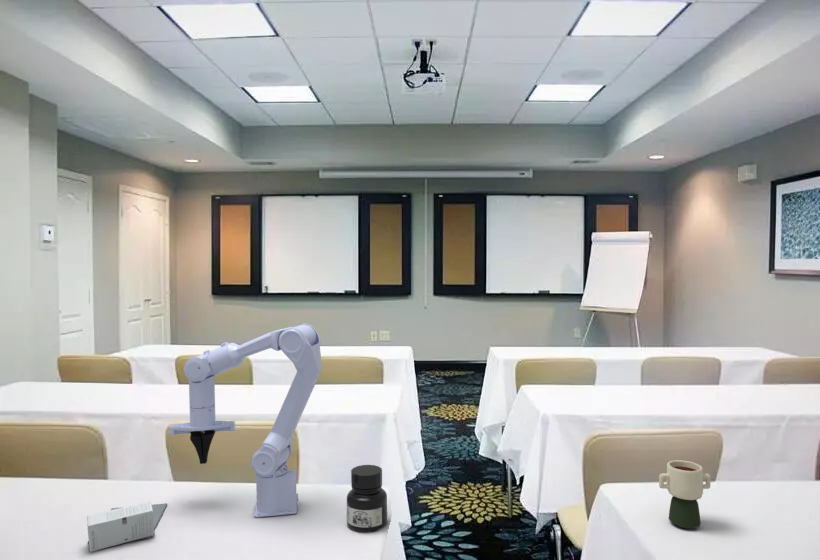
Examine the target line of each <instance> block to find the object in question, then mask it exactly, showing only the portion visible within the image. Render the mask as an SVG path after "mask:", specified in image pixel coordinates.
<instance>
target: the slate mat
mask: <svg viewBox="0 0 820 560" xmlns="http://www.w3.org/2000/svg"><path fill="white" fill-rule="evenodd" d="M151 505H152V509H153V520H154V532H155V531H156V528H157V526H158V524H159V522H160V520H161V518H162V516H164V513H165V511H166V508H167V507H168V503H157V504H156V503H155V504H151ZM118 508H122V506H121V507H112V508H110V510H114V509H118ZM152 536H153V535H152ZM152 536H148V537H144V538H141V539H140V540H142V539H151V538H152ZM87 545H89V540H88V541H87Z"/></svg>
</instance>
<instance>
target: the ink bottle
mask: <svg viewBox="0 0 820 560" xmlns="http://www.w3.org/2000/svg"><path fill="white" fill-rule="evenodd" d="M350 475H351V476H350V479H351V480H350V482H351V485H350V486H351V490H349V491H348V493H347V494H346V525H347V526H348V528H349V529H352V530H353V531H356V532H362V533H363V532H364V533H365V532H367V533H368V532H376V531H379V530H380V529H383V528H384V527H385V526H386V525H387V523H388V494H387V492H386V490H385V489H383V470H382V467H380V466H379V465H375V464H361V465H358V466H357V465H356V466H355V467H353V468H352V469H351V470H350Z"/></svg>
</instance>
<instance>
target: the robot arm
mask: <svg viewBox="0 0 820 560" xmlns="http://www.w3.org/2000/svg"><path fill="white" fill-rule="evenodd" d="M321 343H322V339H321V337H320V335H319V333H318V331H317V329H316V328H315V327H314V326H313V325H311V324H310V323H300V324H298V325H296V326H289V327H284V328H281V329H277V330H272V331H270V332H267V333H265V334H263V335H261V336H259V337H256V338H253V339H251V340H249V341H247V342H244V343H241V344H240V345H239V344H237V343H235V342H230V343H229V342H228V341H225V342H223V343H220V347H217V348H215V349H213V350H210V349H207V350H204V351H203V354H201V355H197V356H192V357H191V358H189V359H188V360H187V361H186V362H185V364H184V366H183V373H184V375H185V376H184V377H186V378H187V380H188V389H189V390H188V394H189V395H188V398H189V422H185V423H178V424H171V425H170V426H169V436H175V435H181V434H182V435H183V434H190V436H189V440H190V442H191V443H192V445H193V446H194V449H195V451H196V453H197V456H198V460H199V465H202V464H203V465H204V464H207V462H208V457H209V452H210V447H211V444H212V443H213V442H212V441H213V438H214V437H215V434H216V432H224V431H225V432H235V431H236V430H235V429H236V421H235V420H216V396H215V395H216V392H215V391H216V390H215V388H216V387H215V383H216V382H215V381H216V379H215V378H216V375H219V374H222V373H225V372H227V371H229V370H232V369H234V368H237V367H239V366H241V365H242V364H243V362H244V361H245V358H248V357H249V356H252V355H255V354H258V353H261V352H263V351H266V350H269V349H273V350H274V351H276V352H279V351H281V352H283V354H284V355H285V357H287V358H288V359H289V360H290V361H291V362H292V364H293V366H294V368H295V369H296V373H295V375H294V378H293V380H292V382H291V384H290V387H289V389H288V391H287V394H286V396H285V398H284V400H283V403H282V404H281V407H280V410H279V412H278V414H277V416H276V419H275V420H274V423H273V426H272V427H271V430H270V431H269V433H268V435H267V437H266V438H265V439H264V441H263V442H262V444H261V447H260V448H259V449H258V450H257V451H255V452H254V453H253V454H252V457H251V461H250V464H251V468H252V470H253V471H254V473H255V480H256V481H255V482H256V483H255V485H256V486H255V487H256V488H255V489H256V502H255V507H254V512H253V513H254V514H253V517H254V518H265V517H275V516H284V515H294V514H295V515H296V514H297V512H298V508H297V506H298V505H297V504H298V503H297V502H299V494H298V492H297V470H296V469H289V468H288V464H287V462H288V461H289V459H290V457H291V456H292V455H291V454H292V443H293V441H294V437H293V435H294V433H295V431H296V429H297V426H298V424H299V422H300V420H301V417H302V414H303V413H304V412H305V411H304V410H305V408H306V406H307V403H308V402H309V399H310V397H311V395H312V393H313V390H314V388H315V385H316V383H317V381H318V379H319V377H320V375H321V372H322V369H323V365H322V364H323V363H322V354H321Z"/></svg>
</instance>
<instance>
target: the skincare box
mask: <svg viewBox="0 0 820 560" xmlns="http://www.w3.org/2000/svg"><path fill="white" fill-rule="evenodd" d="M152 505H153V504H152V502H151V501H150V500H148V501H145V502H144V501H143V502H140V503H135V504H132V505H127V506H123V507H122V506H121V507H122V508H120V507H117V508H118V509H114V510H111V509H109V510H106V511H102V512H98V513H93V514H89V515H87V517H86V521H87V524H86V525H87V535H88V536H87V537H88V541H89V544H88V545H89V551H90V552H96V551H99V550H102V549H107V548H109V547H114V546H117V545H121V544H125V543H128V542H133V541H137V540H142V539H141V538H144V537H148V536H154V535H156V533H155V531H154V520H153V509H152ZM144 539H145V538H144Z"/></svg>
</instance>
